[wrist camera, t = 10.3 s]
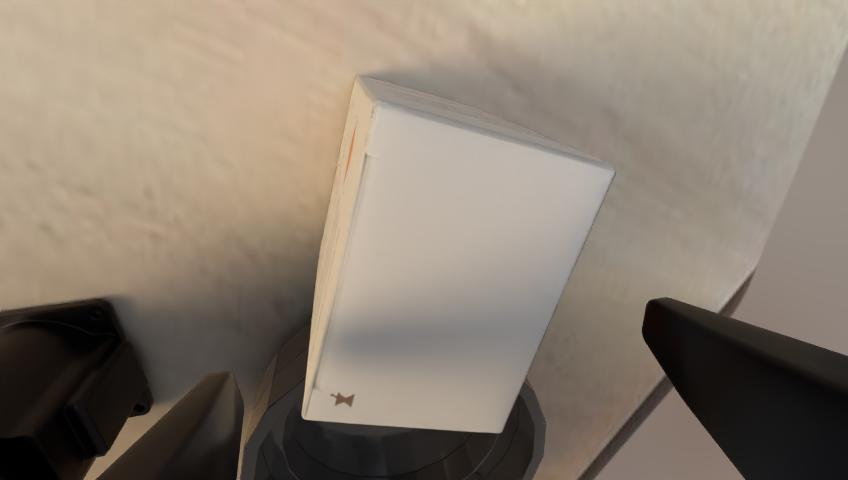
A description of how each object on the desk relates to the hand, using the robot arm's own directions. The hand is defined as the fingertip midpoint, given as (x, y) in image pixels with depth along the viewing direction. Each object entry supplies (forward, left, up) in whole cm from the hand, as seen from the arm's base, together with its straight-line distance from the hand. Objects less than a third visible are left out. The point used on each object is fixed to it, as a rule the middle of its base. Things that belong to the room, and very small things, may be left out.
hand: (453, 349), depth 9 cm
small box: (0, 0, -12) cm, 12 cm away
